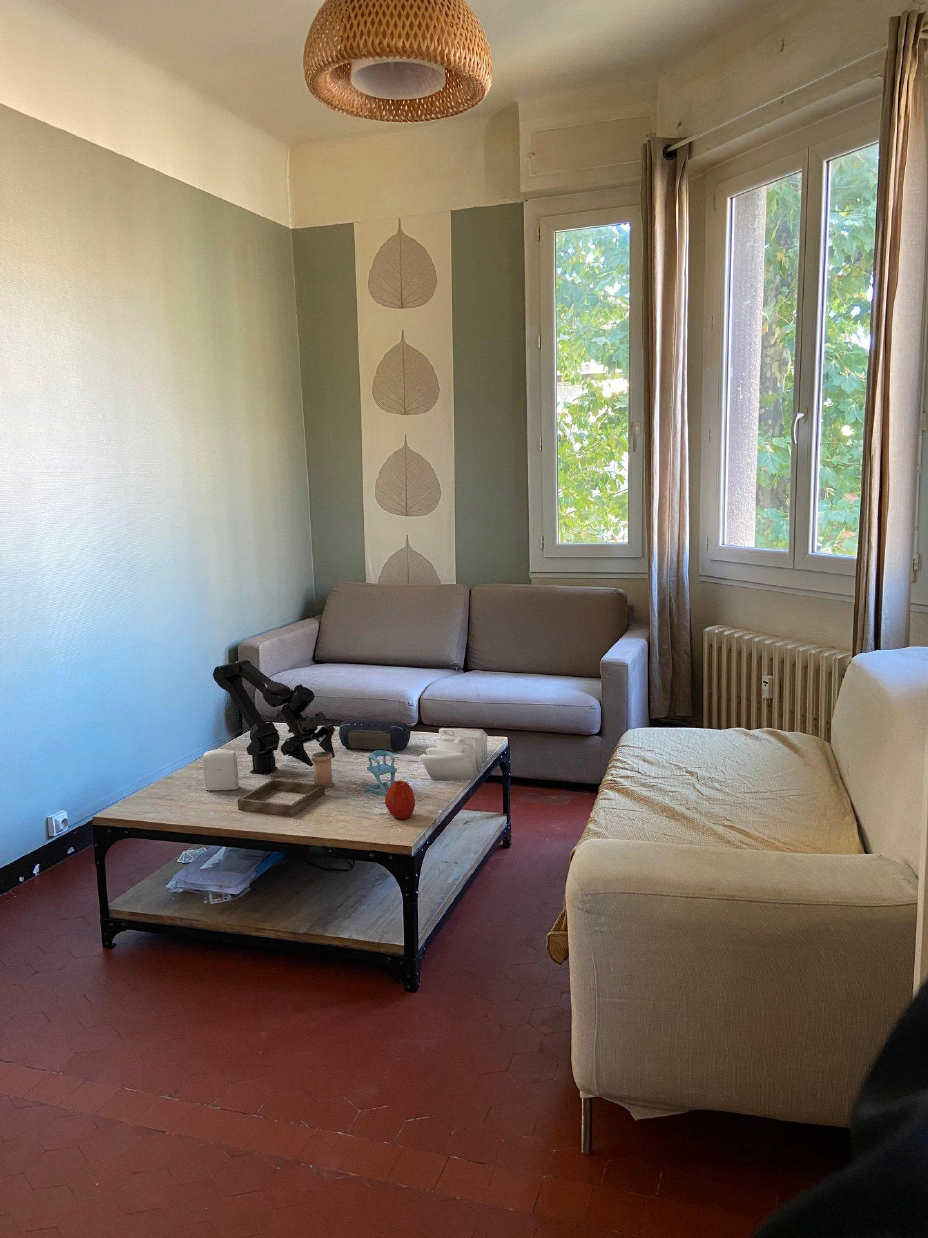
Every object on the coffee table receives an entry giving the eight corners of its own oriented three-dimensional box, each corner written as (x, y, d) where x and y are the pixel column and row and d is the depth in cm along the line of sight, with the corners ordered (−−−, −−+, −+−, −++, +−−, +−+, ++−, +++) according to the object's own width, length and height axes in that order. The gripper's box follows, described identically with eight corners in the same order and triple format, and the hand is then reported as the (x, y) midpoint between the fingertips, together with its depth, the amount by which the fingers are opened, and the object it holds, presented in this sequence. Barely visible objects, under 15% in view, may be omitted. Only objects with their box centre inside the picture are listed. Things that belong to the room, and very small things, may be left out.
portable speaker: (335, 751, 306) (333, 723, 304) (345, 742, 316) (344, 715, 314) (404, 755, 300) (403, 726, 298) (413, 746, 310) (412, 718, 308)
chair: (378, 797, 261) (377, 758, 259) (364, 790, 268) (362, 751, 266) (401, 791, 265) (399, 753, 263) (386, 784, 272) (385, 746, 270)
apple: (380, 820, 244) (379, 782, 242) (394, 809, 251) (393, 773, 249) (407, 824, 240) (405, 786, 239) (421, 813, 248) (419, 776, 246)
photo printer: (203, 791, 270) (200, 752, 268) (207, 786, 274) (204, 748, 272) (237, 791, 270) (234, 751, 268) (240, 786, 274) (238, 747, 272)
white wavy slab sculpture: (466, 788, 267) (465, 754, 265) (414, 784, 272) (413, 751, 270) (496, 752, 300) (495, 722, 298) (449, 749, 305) (448, 719, 303)
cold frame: (238, 809, 255) (237, 799, 254) (273, 788, 271) (272, 778, 271) (292, 816, 248) (292, 806, 248) (325, 794, 265) (324, 784, 264)
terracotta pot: (313, 790, 268) (311, 758, 266) (313, 784, 274) (311, 752, 272) (334, 789, 269) (332, 757, 267) (333, 782, 275) (331, 750, 273)
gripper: (284, 712, 263) (313, 755, 258) (329, 698, 278) (357, 738, 273) (268, 734, 269) (295, 776, 264) (313, 719, 284) (339, 759, 279)
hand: (323, 761), depth 270 cm, fingers open, 9 cm apart
